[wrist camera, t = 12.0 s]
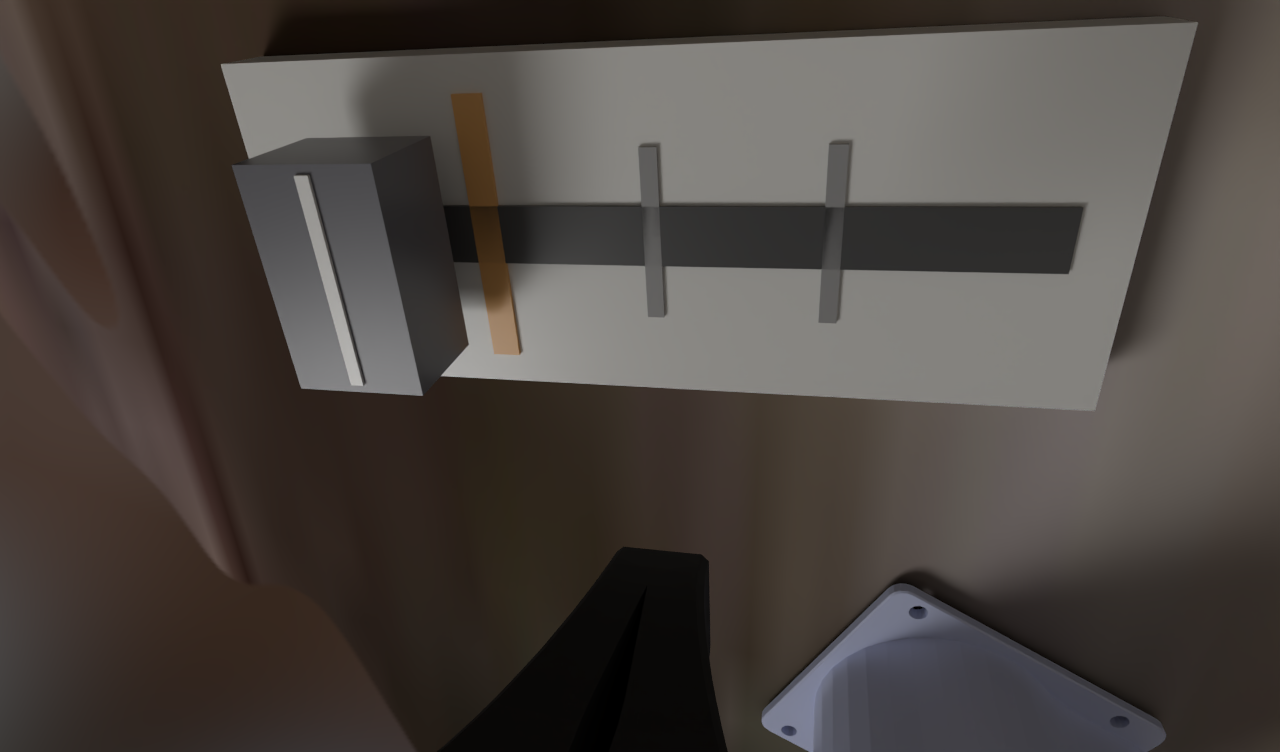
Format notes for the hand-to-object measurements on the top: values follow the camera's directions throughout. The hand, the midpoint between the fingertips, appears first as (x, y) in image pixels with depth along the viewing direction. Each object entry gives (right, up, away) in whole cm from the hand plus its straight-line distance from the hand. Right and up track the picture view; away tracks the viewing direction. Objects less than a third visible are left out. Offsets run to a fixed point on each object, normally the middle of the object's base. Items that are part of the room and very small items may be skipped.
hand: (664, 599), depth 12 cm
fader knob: (-6, +7, +7) cm, 11 cm away
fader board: (0, +7, +7) cm, 10 cm away
